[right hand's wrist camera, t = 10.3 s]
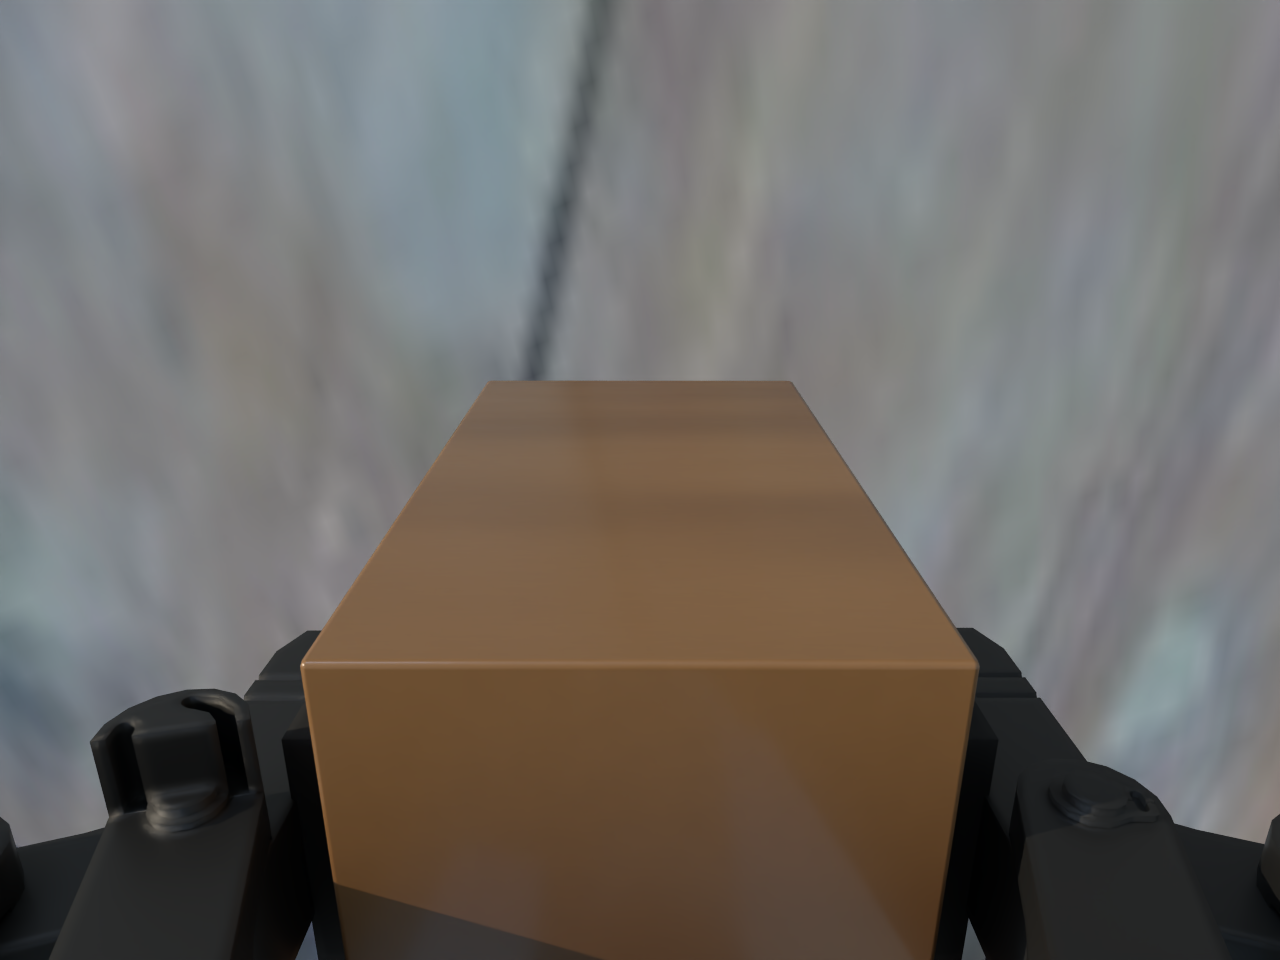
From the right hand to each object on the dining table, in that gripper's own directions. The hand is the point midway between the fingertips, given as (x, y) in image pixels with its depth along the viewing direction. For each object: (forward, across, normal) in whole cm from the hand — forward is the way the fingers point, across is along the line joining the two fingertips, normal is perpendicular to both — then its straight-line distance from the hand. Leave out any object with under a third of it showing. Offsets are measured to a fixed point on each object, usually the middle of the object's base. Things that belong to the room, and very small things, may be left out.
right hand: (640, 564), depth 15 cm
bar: (+1, 0, -10) cm, 10 cm away
